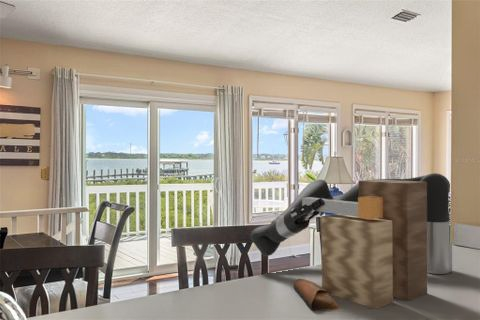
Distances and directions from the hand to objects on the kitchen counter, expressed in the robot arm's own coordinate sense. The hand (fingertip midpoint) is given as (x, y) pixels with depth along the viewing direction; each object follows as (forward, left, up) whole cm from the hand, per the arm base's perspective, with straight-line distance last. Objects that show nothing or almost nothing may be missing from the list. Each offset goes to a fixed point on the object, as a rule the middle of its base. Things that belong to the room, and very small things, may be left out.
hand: (326, 200), depth 125 cm
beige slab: (-5, +9, -26) cm, 28 cm away
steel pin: (-2, +4, -3) cm, 6 cm away
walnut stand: (-18, +5, -26) cm, 32 cm away
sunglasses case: (+6, +9, -27) cm, 29 cm away
